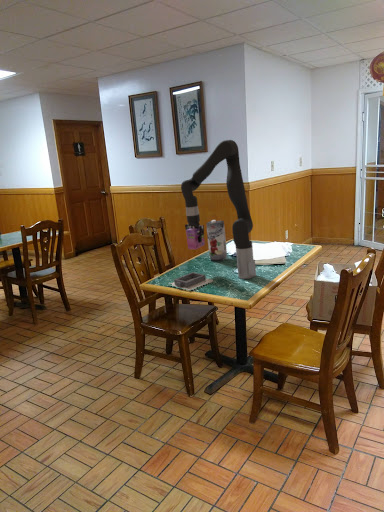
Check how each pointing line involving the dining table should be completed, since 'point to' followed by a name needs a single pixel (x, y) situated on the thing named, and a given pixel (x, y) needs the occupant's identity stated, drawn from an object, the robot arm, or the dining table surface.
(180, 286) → the board
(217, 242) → the juice carton
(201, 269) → the dining table surface
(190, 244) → the box
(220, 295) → the dining table surface
